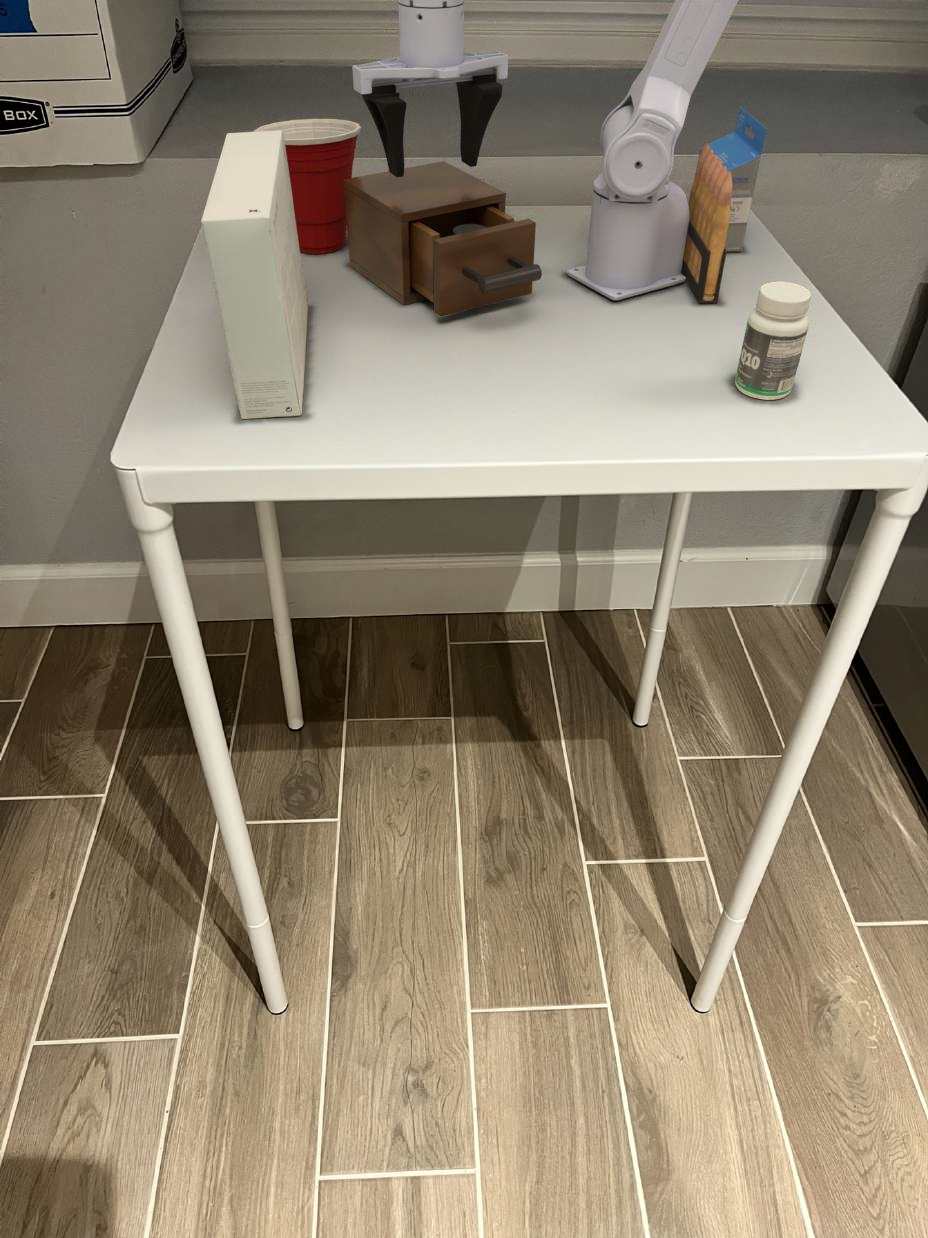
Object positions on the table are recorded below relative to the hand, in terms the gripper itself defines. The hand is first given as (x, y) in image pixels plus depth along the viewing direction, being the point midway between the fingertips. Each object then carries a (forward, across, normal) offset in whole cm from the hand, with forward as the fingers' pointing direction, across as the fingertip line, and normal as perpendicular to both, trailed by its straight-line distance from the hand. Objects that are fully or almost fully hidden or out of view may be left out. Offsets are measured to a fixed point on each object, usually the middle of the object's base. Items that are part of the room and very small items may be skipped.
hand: (433, 168), depth 92 cm
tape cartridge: (+10, +33, -4) cm, 34 cm away
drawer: (+9, 0, -8) cm, 12 cm away
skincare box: (+10, -21, -11) cm, 26 cm away
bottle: (+8, 0, -8) cm, 11 cm away
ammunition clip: (+10, +23, -13) cm, 29 cm away
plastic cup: (+10, -8, +13) cm, 19 cm away
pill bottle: (+10, +15, -34) cm, 38 cm away
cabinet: (+10, -1, +1) cm, 10 cm away
